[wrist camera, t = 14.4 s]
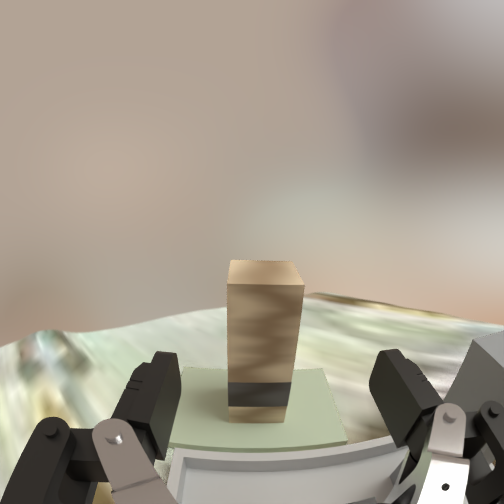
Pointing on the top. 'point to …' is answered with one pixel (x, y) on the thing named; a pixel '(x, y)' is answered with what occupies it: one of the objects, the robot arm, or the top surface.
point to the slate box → (477, 381)
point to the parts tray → (287, 475)
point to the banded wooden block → (261, 338)
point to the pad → (255, 434)
